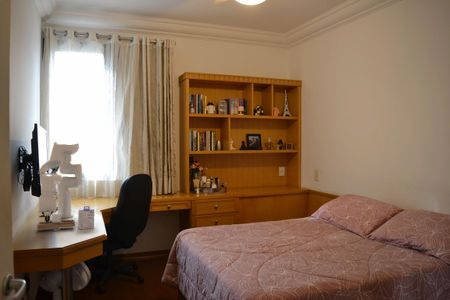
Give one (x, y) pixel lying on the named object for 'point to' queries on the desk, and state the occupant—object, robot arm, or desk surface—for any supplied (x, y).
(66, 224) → the beam
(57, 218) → the rider
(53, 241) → the desk surface
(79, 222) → the ink cartridge box
